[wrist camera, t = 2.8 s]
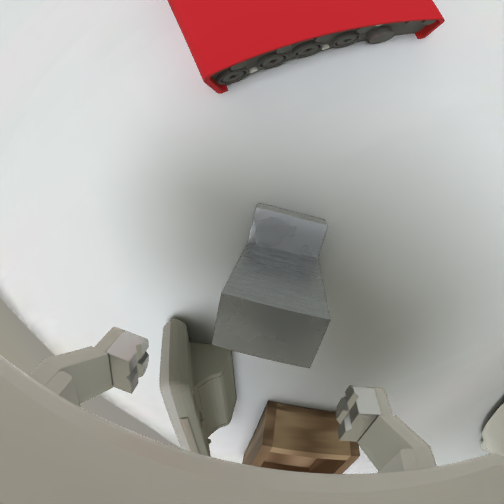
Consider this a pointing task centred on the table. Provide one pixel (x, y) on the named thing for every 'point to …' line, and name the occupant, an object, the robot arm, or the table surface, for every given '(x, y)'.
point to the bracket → (276, 290)
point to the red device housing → (288, 30)
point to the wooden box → (299, 441)
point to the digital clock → (195, 387)
